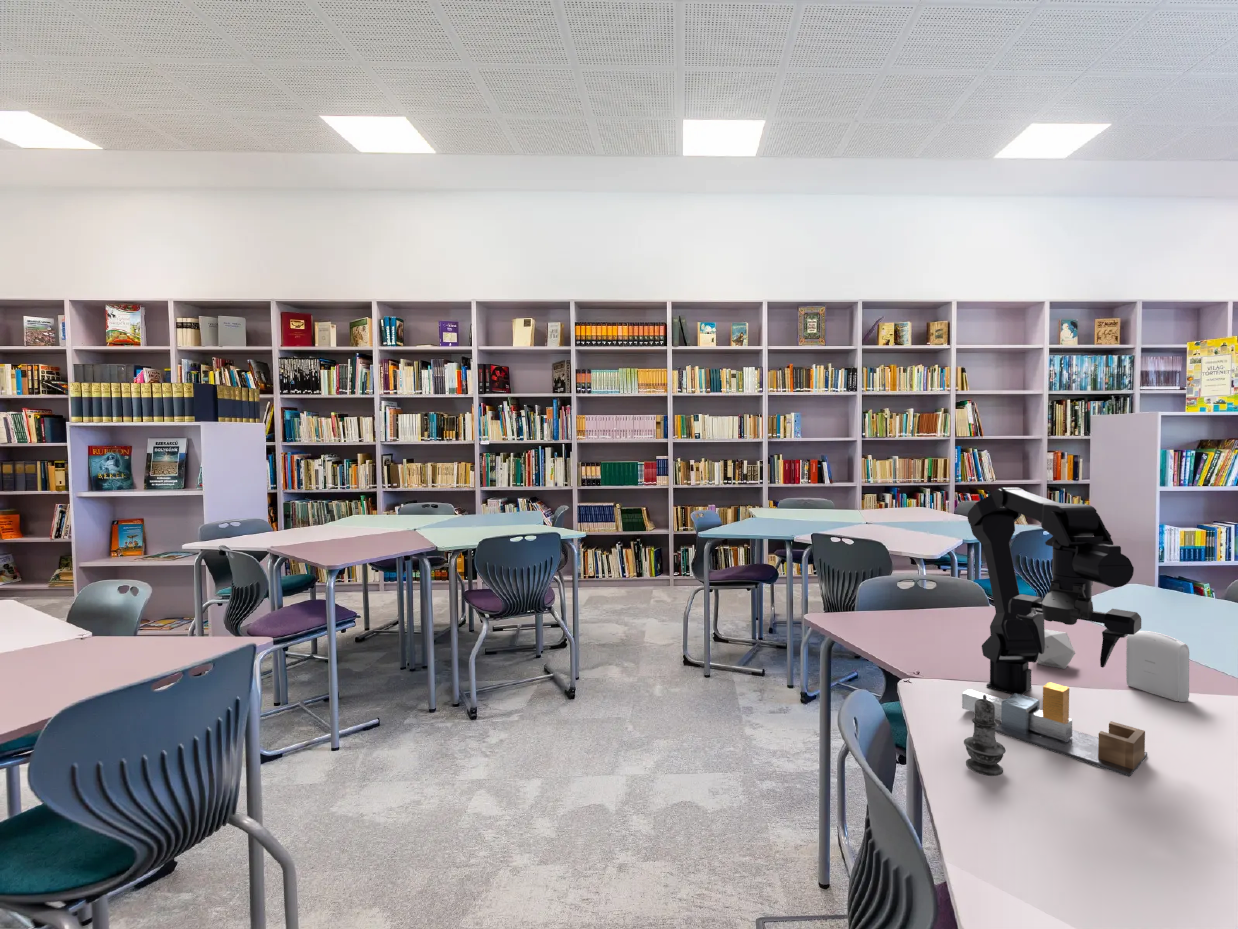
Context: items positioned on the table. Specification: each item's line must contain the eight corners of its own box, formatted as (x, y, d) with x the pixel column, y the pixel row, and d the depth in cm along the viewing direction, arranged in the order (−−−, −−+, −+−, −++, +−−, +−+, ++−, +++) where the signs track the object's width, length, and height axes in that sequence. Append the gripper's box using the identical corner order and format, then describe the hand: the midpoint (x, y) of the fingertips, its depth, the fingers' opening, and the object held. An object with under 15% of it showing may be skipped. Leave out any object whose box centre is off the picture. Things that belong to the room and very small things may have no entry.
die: (1024, 659, 149) (1020, 634, 144) (1052, 640, 149) (1049, 614, 145) (1055, 683, 142) (1052, 657, 137) (1085, 663, 142) (1083, 636, 138)
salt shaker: (1000, 760, 102) (1000, 689, 102) (1010, 779, 97) (1010, 704, 96) (960, 755, 104) (960, 685, 104) (967, 773, 98) (967, 699, 98)
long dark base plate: (993, 731, 112) (994, 704, 112) (1015, 715, 118) (1016, 689, 118) (1129, 777, 97) (1130, 745, 96) (1147, 756, 103) (1147, 726, 102)
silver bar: (962, 708, 120) (962, 665, 119) (969, 704, 121) (969, 661, 121) (1065, 741, 106) (1066, 692, 106) (1072, 736, 108) (1072, 688, 108)
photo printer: (1121, 685, 131) (1122, 627, 131) (1135, 682, 133) (1136, 625, 132) (1179, 704, 121) (1181, 642, 121) (1193, 701, 123) (1194, 639, 122)
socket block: (1098, 758, 101) (1098, 733, 101) (1110, 745, 105) (1111, 721, 105) (1133, 769, 98) (1133, 743, 97) (1144, 756, 102) (1145, 730, 101)
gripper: (997, 573, 114) (996, 657, 114) (1125, 591, 99) (1124, 687, 100) (1019, 564, 121) (1019, 644, 121) (1142, 580, 106) (1141, 670, 107)
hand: (1071, 660), depth 112 cm, fingers open, 9 cm apart
